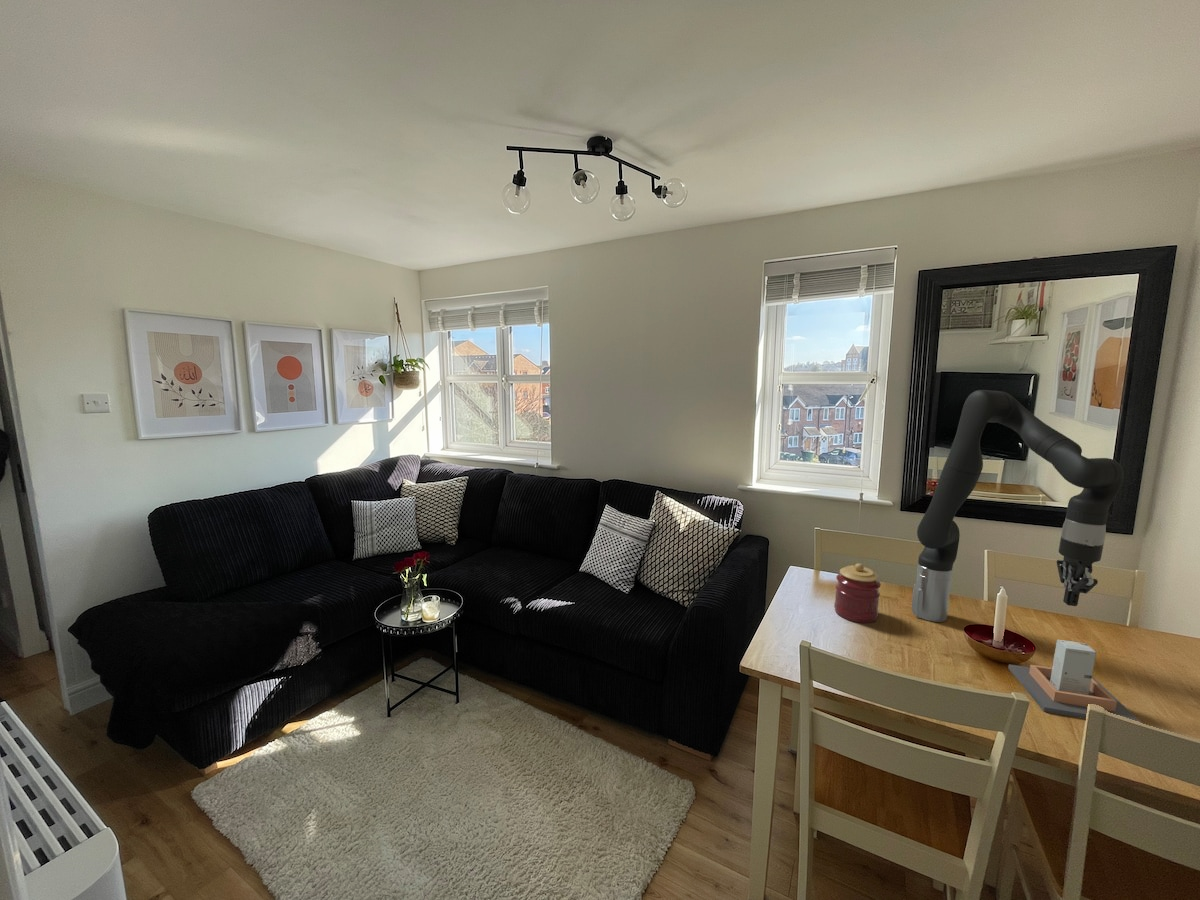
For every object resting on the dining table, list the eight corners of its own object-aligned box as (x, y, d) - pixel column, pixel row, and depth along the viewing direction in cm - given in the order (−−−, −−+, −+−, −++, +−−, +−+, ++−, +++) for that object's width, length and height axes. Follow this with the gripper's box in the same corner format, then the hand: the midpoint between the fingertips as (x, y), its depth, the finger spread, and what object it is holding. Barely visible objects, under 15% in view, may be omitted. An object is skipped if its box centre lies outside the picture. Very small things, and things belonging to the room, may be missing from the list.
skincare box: (1058, 693, 121) (1065, 648, 119) (1048, 682, 125) (1055, 638, 123) (1090, 698, 119) (1097, 652, 117) (1078, 687, 123) (1086, 642, 121)
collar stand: (1043, 711, 116) (1045, 697, 115) (1008, 668, 133) (1009, 655, 132) (1141, 728, 110) (1144, 713, 110) (1091, 680, 127) (1093, 667, 127)
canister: (879, 610, 165) (883, 561, 162) (876, 627, 154) (881, 574, 151) (836, 601, 172) (840, 553, 169) (831, 617, 161) (835, 566, 158)
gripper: (1048, 528, 127) (1038, 590, 130) (1078, 546, 115) (1066, 614, 118) (1085, 531, 124) (1073, 595, 128) (1119, 550, 112) (1105, 619, 115)
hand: (1070, 604), depth 123 cm, fingers closed
